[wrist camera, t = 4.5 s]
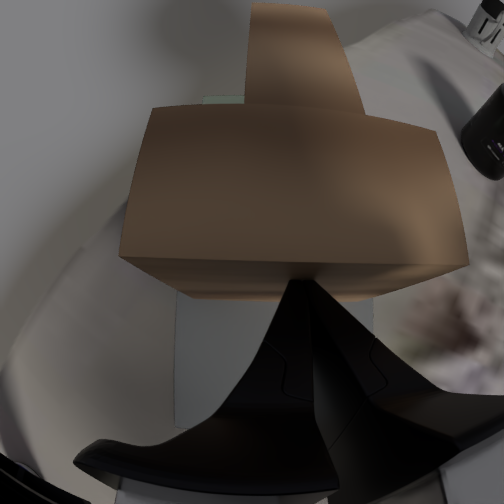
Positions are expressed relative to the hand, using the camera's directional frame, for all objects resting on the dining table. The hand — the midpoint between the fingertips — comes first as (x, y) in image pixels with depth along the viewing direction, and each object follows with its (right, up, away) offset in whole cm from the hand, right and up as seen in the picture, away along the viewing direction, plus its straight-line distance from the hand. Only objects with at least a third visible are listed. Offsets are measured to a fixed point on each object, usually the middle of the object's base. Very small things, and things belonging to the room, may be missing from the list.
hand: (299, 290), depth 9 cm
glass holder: (+46, +44, +20) cm, 67 cm away
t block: (0, +5, +9) cm, 10 cm away
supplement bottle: (+23, +11, +11) cm, 28 cm away
